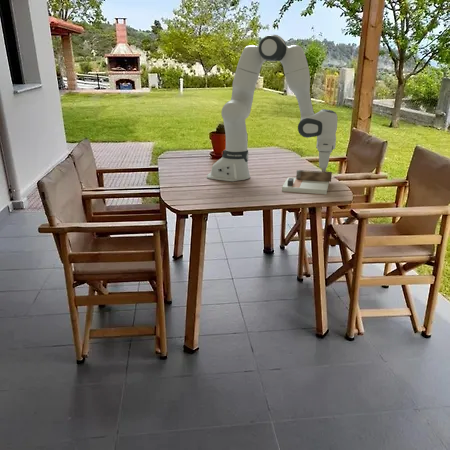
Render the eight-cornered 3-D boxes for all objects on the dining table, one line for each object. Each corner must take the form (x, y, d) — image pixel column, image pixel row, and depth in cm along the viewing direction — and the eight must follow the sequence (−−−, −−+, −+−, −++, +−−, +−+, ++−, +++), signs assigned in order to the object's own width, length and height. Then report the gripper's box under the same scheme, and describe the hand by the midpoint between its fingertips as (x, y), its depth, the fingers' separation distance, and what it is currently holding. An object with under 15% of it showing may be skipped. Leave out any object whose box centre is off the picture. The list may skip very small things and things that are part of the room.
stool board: (281, 191, 187) (282, 181, 185) (287, 181, 203) (288, 172, 201) (326, 194, 181) (327, 184, 180) (328, 184, 198) (329, 175, 196)
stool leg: (295, 179, 198) (296, 171, 196) (296, 177, 201) (297, 169, 199) (330, 181, 193) (331, 173, 192) (331, 180, 196) (331, 171, 195)
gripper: (320, 140, 205) (318, 167, 210) (317, 148, 186) (315, 177, 191) (333, 141, 203) (331, 168, 208) (331, 148, 185) (329, 178, 190)
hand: (323, 172), depth 199 cm, fingers closed
